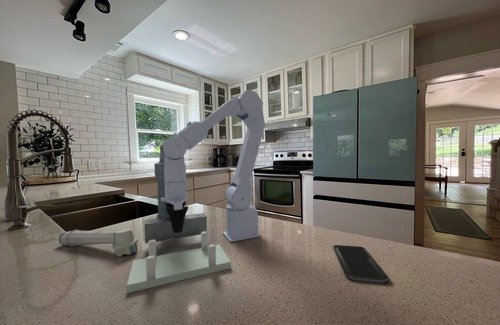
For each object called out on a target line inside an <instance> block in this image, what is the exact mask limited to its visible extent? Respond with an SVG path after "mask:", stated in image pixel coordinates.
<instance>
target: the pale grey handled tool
mask: <svg viewBox="0 0 500 325" xmlns="http://www.w3.org/2000/svg"><path fill="white" fill-rule="evenodd" d="M58 242H59V243H58V244H59V245H61V246H69V247H72V248H73V247H75V246H89V245H94V246H95V245H109V244H112V245H111V248H112V249H113V250H114V255H116V257H123V255H127V256H128V255H131V254H134V253H136V252H137V251H138V250H139V248H138V243H139V239H138V238H136V237H135V234H134V232H133V230H132V229H131V228H125V229H121V230H118V231H117V230H116V231H115V230H114V231H113V230H111V231H110V230H108V231H107V230H106V231H105V230H79V229H74V230H71V231H70V230H68V231H65V232H63V233H61V234H60V236H59V238H58Z"/></svg>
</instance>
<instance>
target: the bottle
mask: <svg viewBox="0 0 500 325" xmlns="http://www.w3.org/2000/svg"><path fill="white" fill-rule="evenodd" d="M165 142H166V141H165ZM165 142H164V141H163V142H162V144H160V145H159V150H160V151H159V152H160V153H159V161H158V162H155V163H153V164H154V172H153V173H154V177H155V179H156V183H157V214H156V216H155V219H158V218H166V217H169V215H168V213H167V211H166V205H165V204H166V203H168V202H165V201H161V198H164V197H165V180H164V165H165V163H164V158H165V157H167V156H166V155H165V154H164V151H163V145H164V143H165Z"/></svg>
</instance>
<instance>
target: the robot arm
mask: <svg viewBox="0 0 500 325" xmlns="http://www.w3.org/2000/svg"><path fill="white" fill-rule="evenodd" d="M263 104H264V102H263V101H262V99H261V97H260V96H259V94H258V93H257V91H254V90H252V89H248V90H247V89H246V90H244V91H243V92H242V93H241V94H238V95H236V96H234V97H232V98H231V99H229V100H227V101H226V102H225V103H223V104H222V105H220V106H219V107H218V108H217V109H216V110H214V111H212V113H210V114H209V115H208V116H207V117H206V118H204V119H203V120H202V121H201V120H200V121H199V120H193V121H189V122H187V123H186V127H184V128H182V129H181V130H179V132H174V133H173V134H172V136H170V137H168V138H167V139H166V140H165V143H164V145H163V151H164V154H165V155H166V156H167V157H165V158H164V163H165V165H164V180H165V197H164V198H161V201H165V202H168V203H166V204H165V205H166V211H167V213H168V215H169V217H170V219H171V223H172V228H173V232H174V233H178V232H182V229H183V224H184V218H185V215H187V213H188V210H189V206H188V205H186V204H187V202H186V201H187V200H188V199H189V198H188V192H187V188H188V187H187V168H186V167H187V166H186V162H185V155H186V153H187V150H192V149H194V148H195V147H196V146H197V145H198V144H200V143H201V142H202V141H204V140H205V139H206V138H208V133H209V130H210V129H212V128H213V127H214V126H216V125H218V123H220V122H221V121H223V120H224V119H226V118H227V117H235V116H236V117H238V118H239V119H240V120H241V121H242V122H243V123H244V125H245V126H246V131H245V135H244V140H243V143H242V147H241V150H240V154H239V157H238V161H237V164H236V169H235V172H234V175H233V176H232V178H231V179H230V183H229V185H228V186H227V187H226V188H225V190H224V198H225V200H226V201H227V204H226V208H225V211H226V230H224V231H223V232H222V234H223V235H224V236H225V238H226V239H227V240H228V241H229V242H231V243H232V242H238V241H239V242H240V241H244V240H249V239H255V238H259V237H260V234H259V215H258V214H259V212H258V210H257V208H256V206H255V205H251V204H252V201H253V194H252V189H253V183H252V175H253V172H254V167H255V165H256V161H257V157H258V153H259V149H260V145H261V141H262V139H263V138H262V137H263V134H264V131H265V128H266V127H265V126H266V121H265V117H264V112H263Z"/></svg>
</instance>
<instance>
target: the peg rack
mask: <svg viewBox="0 0 500 325" xmlns="http://www.w3.org/2000/svg"><path fill="white" fill-rule="evenodd" d="M208 239H209V238H208V231H207V232H201V235H200V244H201V245H200V247H198V248H193V249H187V250H182V251H175V252H171V253H167V254H166V253H165V254H161V255H157V242H156V240H150V241H148V243H147V245H148V247H147V248H148V256H147V257H145V258H144V257H143V258H139V259H135V260H132V264H131V267H130V272H129V275H128V279H127V282H126V294H131V293H134V292H139V291H142V290H147V289H150V288H155V287H160V286H162V285H167V284H171V283H175V282H176V283H177V282H180V281H183V280H188V279H192V278H197V277H200V276H204V275H209V274H213V273H217V272H221V271H226V270H229V269H232V262H231V260H230V259H229V256H228V255H227V254H226V253H225V251H224V249H223V248H222V246H221V245H220V244H209V243H208V242H209V241H208Z"/></svg>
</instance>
